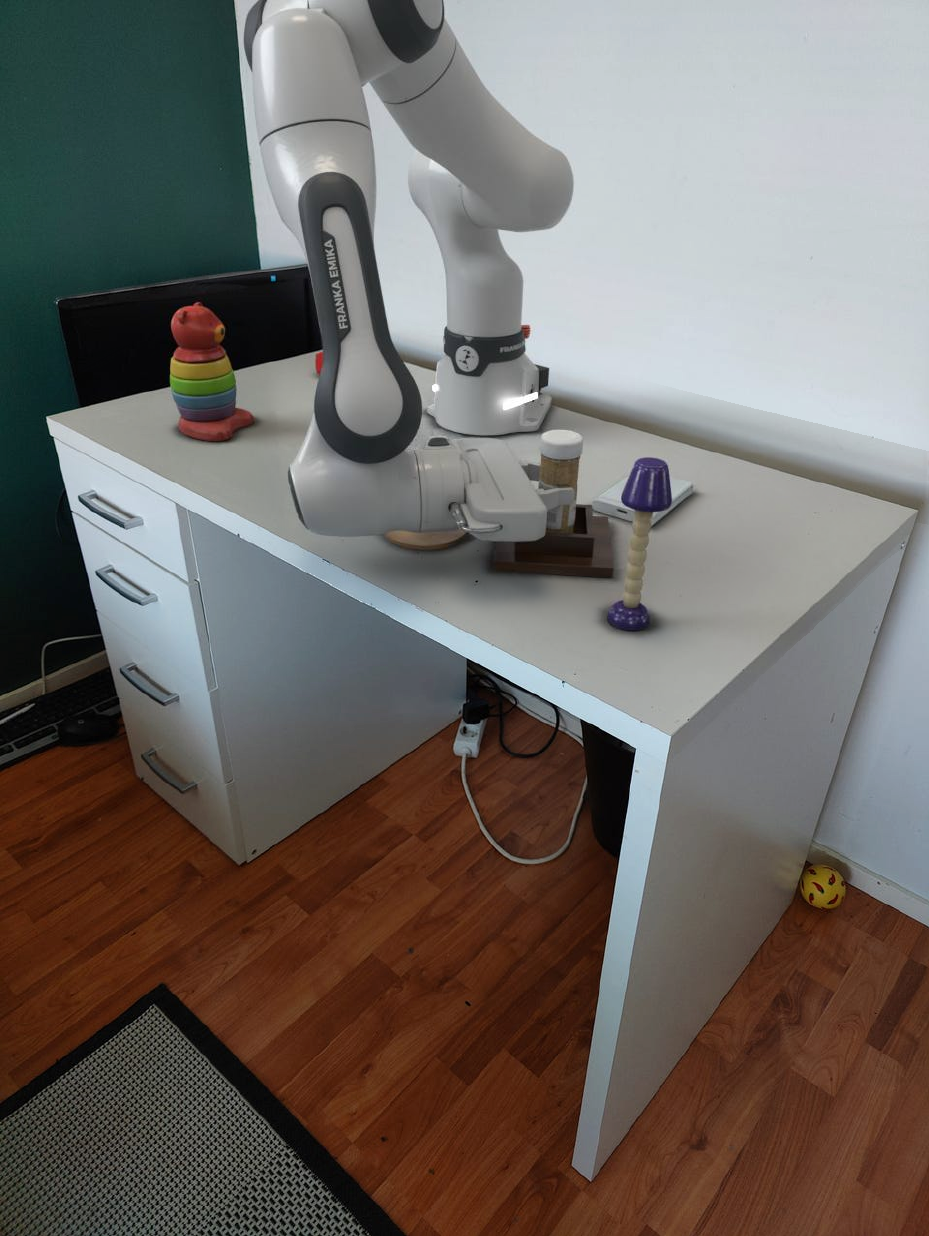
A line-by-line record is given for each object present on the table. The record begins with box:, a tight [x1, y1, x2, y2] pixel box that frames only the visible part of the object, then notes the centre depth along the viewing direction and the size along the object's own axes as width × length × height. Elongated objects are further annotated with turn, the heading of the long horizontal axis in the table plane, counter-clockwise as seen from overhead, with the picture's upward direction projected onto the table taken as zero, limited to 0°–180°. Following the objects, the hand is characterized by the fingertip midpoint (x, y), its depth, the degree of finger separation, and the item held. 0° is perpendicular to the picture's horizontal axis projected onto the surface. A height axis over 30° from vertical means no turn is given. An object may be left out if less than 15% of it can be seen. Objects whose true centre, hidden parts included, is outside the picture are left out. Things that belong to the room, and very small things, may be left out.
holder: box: [492, 503, 614, 578], centre depth 99 cm, size 13×13×4 cm
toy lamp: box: [606, 456, 672, 631], centre depth 82 cm, size 5×5×17 cm
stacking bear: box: [169, 301, 255, 442], centre depth 126 cm, size 11×10×18 cm
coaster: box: [383, 530, 469, 551], centre depth 102 cm, size 10×10×1 cm
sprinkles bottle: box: [537, 429, 584, 534], centre depth 96 cm, size 5×5×13 cm
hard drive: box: [592, 475, 694, 527], centre depth 110 cm, size 2×8×12 cm
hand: (565, 483), depth 96 cm, fingers closed on sprinkles bottle, 4 cm apart
